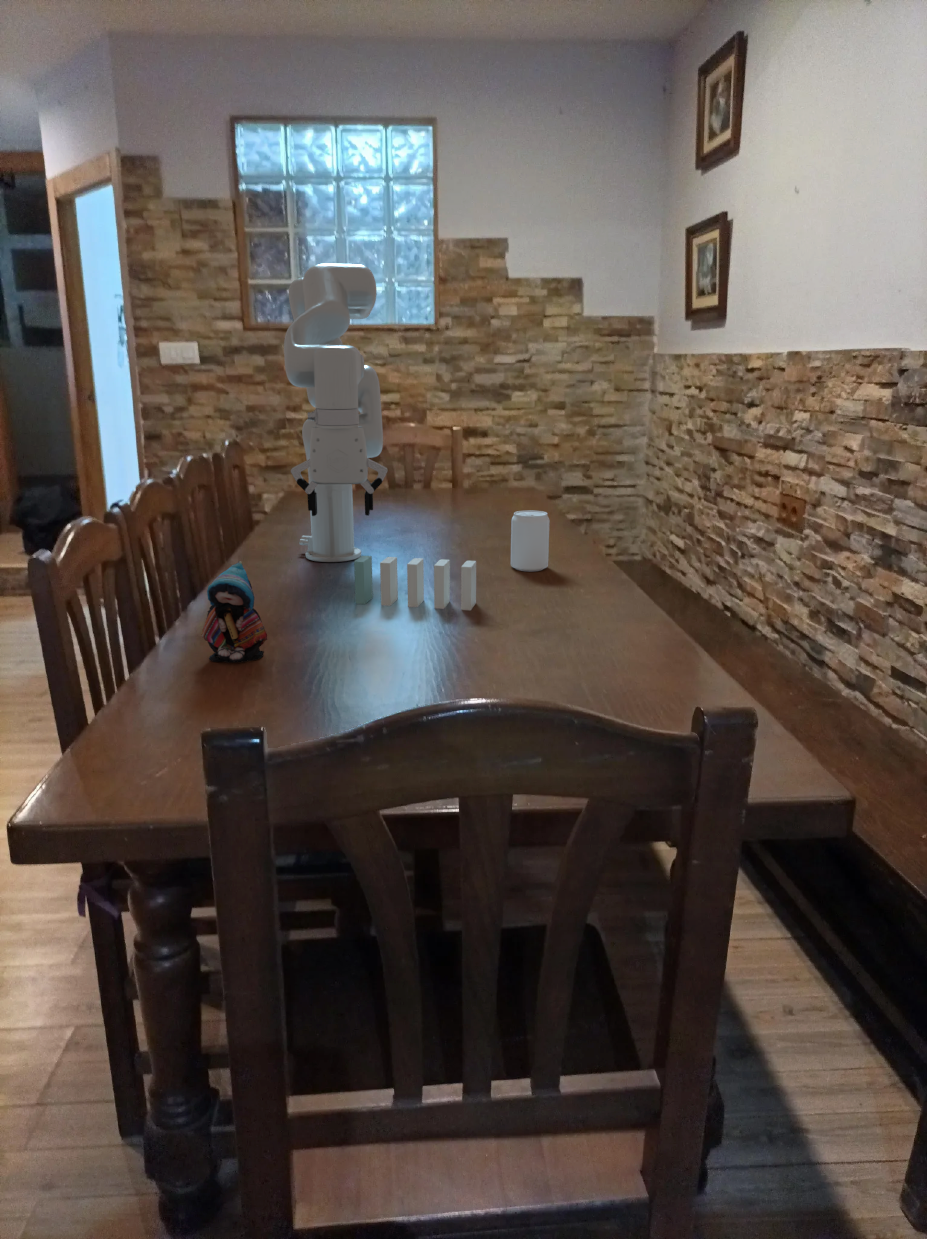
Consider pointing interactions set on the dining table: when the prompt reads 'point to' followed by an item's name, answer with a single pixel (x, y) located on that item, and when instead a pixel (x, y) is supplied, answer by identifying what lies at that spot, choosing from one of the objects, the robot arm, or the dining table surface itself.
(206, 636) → the figurine
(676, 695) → the dining table surface
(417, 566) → the domino
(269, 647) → the dining table surface
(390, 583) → the domino
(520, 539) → the beverage can
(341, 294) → the robot arm
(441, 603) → the domino
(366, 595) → the domino
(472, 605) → the domino
